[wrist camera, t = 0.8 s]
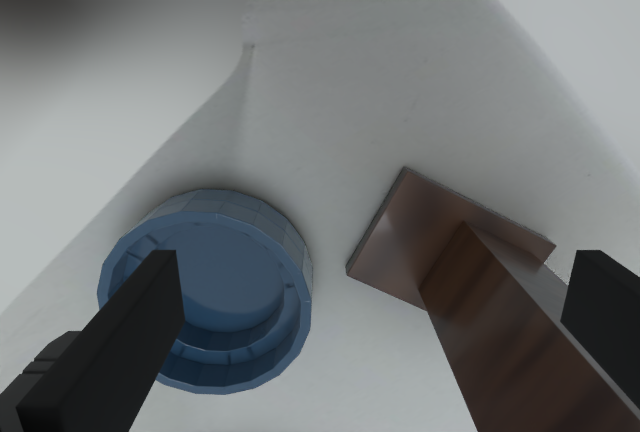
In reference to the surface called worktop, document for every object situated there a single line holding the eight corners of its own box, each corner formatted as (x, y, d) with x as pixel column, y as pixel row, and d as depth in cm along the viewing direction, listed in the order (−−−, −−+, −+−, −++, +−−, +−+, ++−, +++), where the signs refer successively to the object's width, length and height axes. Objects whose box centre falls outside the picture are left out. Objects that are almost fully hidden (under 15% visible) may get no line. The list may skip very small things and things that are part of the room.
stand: (345, 267, 36) (427, 965, 8) (404, 166, 33) (850, 745, 5) (489, 332, 39) (931, 1049, 11) (557, 243, 36) (1433, 930, 8)
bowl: (94, 249, 36) (52, 284, 30) (239, 149, 33) (223, 168, 27) (209, 372, 41) (191, 423, 35) (346, 294, 37) (351, 336, 32)
